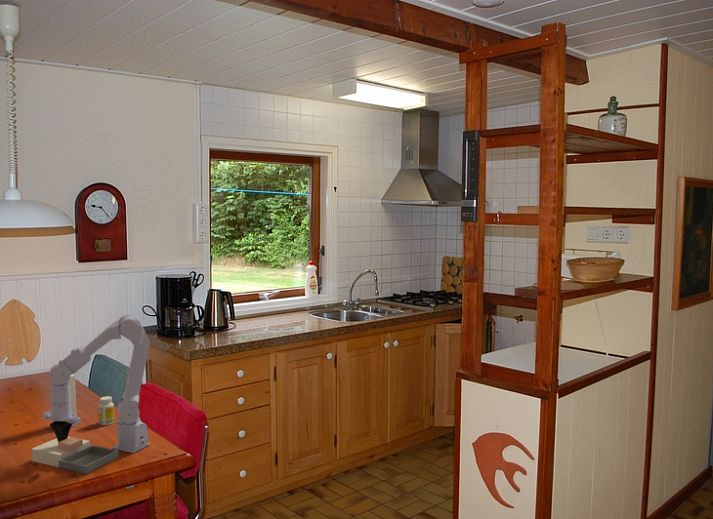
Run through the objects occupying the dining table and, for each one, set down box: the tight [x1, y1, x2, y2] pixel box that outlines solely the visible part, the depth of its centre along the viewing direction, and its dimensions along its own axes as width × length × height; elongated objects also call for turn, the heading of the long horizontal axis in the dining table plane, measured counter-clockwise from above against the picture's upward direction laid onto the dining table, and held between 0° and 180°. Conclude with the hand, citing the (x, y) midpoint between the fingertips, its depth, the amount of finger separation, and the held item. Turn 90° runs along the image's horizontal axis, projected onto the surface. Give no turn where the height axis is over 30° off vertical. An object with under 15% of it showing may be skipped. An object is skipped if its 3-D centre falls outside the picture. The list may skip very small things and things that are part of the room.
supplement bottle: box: [97, 395, 115, 426], centre depth 225 cm, size 5×5×10 cm
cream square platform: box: [30, 436, 91, 468], centre depth 195 cm, size 12×12×4 cm
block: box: [58, 436, 84, 451], centre depth 193 cm, size 5×5×2 cm
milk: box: [69, 374, 78, 427], centre depth 222 cm, size 6×6×22 cm
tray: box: [58, 444, 120, 475], centre depth 191 cm, size 11×13×2 cm
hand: (62, 443), depth 195 cm, fingers closed
